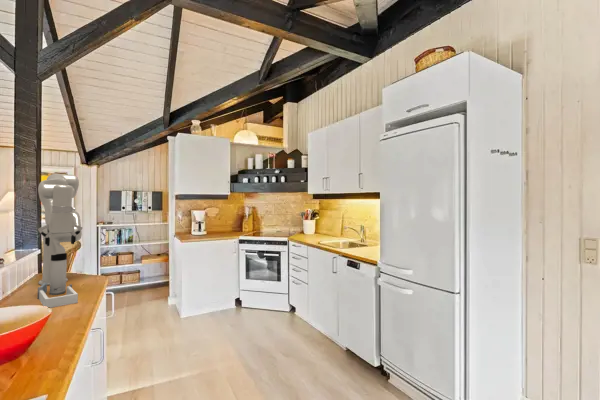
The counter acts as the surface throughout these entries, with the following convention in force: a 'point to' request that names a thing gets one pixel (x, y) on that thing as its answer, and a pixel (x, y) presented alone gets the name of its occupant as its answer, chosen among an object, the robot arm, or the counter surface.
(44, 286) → the cover gate
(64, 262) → the travel mug
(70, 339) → the counter surface
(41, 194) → the robot arm
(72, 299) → the grey rectangular frame
